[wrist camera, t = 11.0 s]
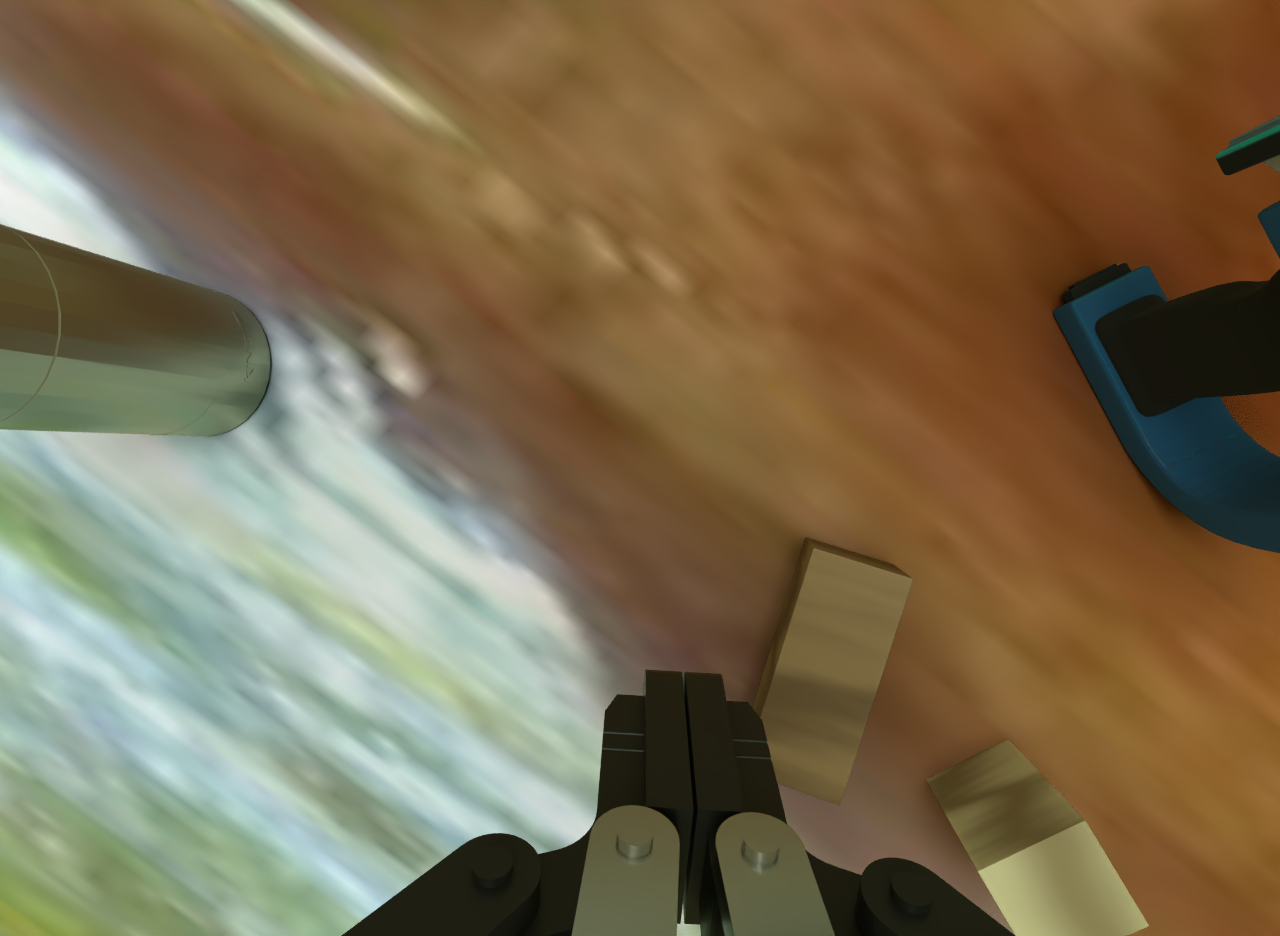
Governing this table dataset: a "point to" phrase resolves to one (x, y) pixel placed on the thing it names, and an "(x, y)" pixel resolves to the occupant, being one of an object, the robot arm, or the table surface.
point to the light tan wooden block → (828, 665)
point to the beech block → (1033, 848)
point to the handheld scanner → (1190, 374)
